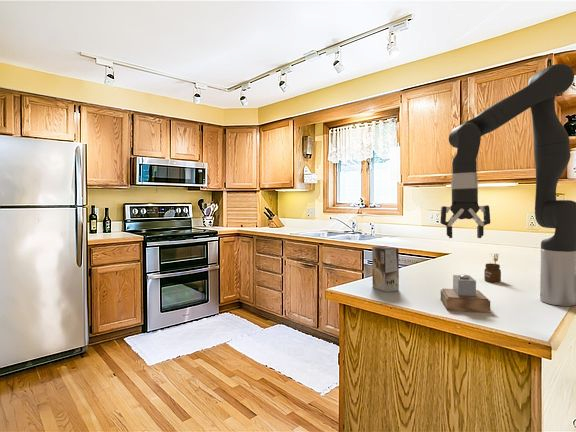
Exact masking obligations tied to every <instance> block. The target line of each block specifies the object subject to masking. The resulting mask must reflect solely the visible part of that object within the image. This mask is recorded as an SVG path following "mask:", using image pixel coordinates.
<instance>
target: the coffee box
mask: <svg viewBox="0 0 576 432" xmlns="http://www.w3.org/2000/svg"><path fill="white" fill-rule="evenodd" d="M399 250H400V249H399V248H397V247H392V246H387V245H383V246H381V245H379V246H372V247H371V254H372V255H371V258H372V260H371V262H372V263H371V266H372V267H371V268H372V288H374V289H377V290H380V291H383V292H385V293H388V292H396V291H397V292H399V290H400V283H399V282H400V275H399V272H400V271H399V270H400V267H399V266H400V265H399V261H400V257H399V256H400V255H399Z"/></svg>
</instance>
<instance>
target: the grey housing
mask: <svg viewBox="0 0 576 432" xmlns="http://www.w3.org/2000/svg"><path fill="white" fill-rule="evenodd" d="M452 289H453V291H454V292H455V293H456V294H457V295H458V296H462V297H476V290H477V280H476V279H474V278H473V277H472V276H471V275H468V274H452Z"/></svg>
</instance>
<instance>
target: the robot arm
mask: <svg viewBox="0 0 576 432" xmlns="http://www.w3.org/2000/svg"><path fill="white" fill-rule="evenodd" d="M574 81H575V72H574V70H573V69H572V68H571V67H570V66H569V65H567V64H564V63H556V64H552V65H549V66H547V67H545V68H543V69H541V70H539V71H538V72H536V73H534V74H532V76H531V77H530V78H529V80H528V82H527V85H526V86H525V87H523V88H522V89H520V90H518V91H517V92H514V93H512V94H510V95H509V96H506V97H505V98H503V99H501V100H499V101H498V102H495V103H494V104H492V105H491V106H489V107H487V108H486V109H484V110H482V111H481V112H480V113H478V114H477V115H476V116H474V117H472V118H471V119H469V120H467V121H465V122H464V123H461V124H459V125H458V126H456V127H455V128H454V129H451V131H450V132H449V135H448V142H449V144H450V146H452V147H453V148H455V149H456V150H457V151H456V154H455V155H454V157H453V158H452V164H451V166H452V167H451V168H452V169H451V170H452V171H451V172H452V177H451V186H450V187H451V205H450V206H446V205H442V206H441V208H440V221H439V222H440V224H441V225H443V226H445V227H446V236H447V237H448V238H449V239H453V224H455V222H457V220H458V219H459V220H465V219H467V220H471V219H472V220H473V221H474V222H475V223H476V224H477V226H476V227H477V228H476V231H477V233H476V234H477V235H476V237H477V239H482V237H483V236H484V235H485V233H484V227H485V226H486V225H490V224H491V211H490V205H488V204H484V205H479V181H478V174H477V172H478V170H477V169H478V167H477V166H478V165H477V161H478V159H477V158H478V156H479V155H478V154H479V152H480V145H481V141H482V137H483V136H485V135H487V134H489V133H492V132H494V131H495V130H497V129H499V128H500V127H502V126H503V125H505V124H507V123H508V122H510V121H511V120H512V119H514V118H516V117H518V116H519V115H520V114H522V113H523V112H525V111H527V110H529V109H530V113H531V119H532V121H531V122H532V132H533V133H532V135H533V155H534V163H535V166H534V167H535V197H534V199H535V200H534V216H535V221H536V223H537V224H538V225H539V226H540V227H542V228H546V229H554V234H553V235H552V236H551V237H548V238H544V239H543V240H541V242H540V283H539V284H540V287H539V288H540V290H539V300H540V301H541V302H542V303H546V304H550V305H555V306H562V307H571V306H572V307H574V306H576V201H574V200H569V199H557V186H558V182H559V180H560V178H561V176H562V175H563V173H564V171H565V169H566V168H567V166H568V164H569V161H570V158H571V147H570V146H571V145H570V137H569V134H568V131H567V130H566V128H565V127H564V125H563V124H562V122H561V121H560V119H559V117H558V115H557V111H556V101H555V99H556V96H559V95H561V94H563V93H565V92H566V91H567V90H569V88H571V87H572V85H573V83H574ZM449 211H451V213H452V216H450V218H449V219H448V220H447V214H448V213H449ZM479 211H481V213H483V220H482V219H481V218H480V216H479V215H478V214H477V213H478V212H479Z"/></svg>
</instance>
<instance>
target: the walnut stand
mask: <svg viewBox="0 0 576 432" xmlns="http://www.w3.org/2000/svg"><path fill="white" fill-rule="evenodd" d="M440 301H441V303H442V304H443V306H444V307H445V310H446V311H450V312H451V311H454V312H468V313H469V312H472V313H474V312H475V313H487V314H490V313H491V300H490V299H489V298H488V297H486V295H484V294H483V293H482V292H481V291H480V290H479V289H476V297H462V296H458V295H457V294H456V293H455V292H454V291H453V288H442V289H440Z"/></svg>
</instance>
